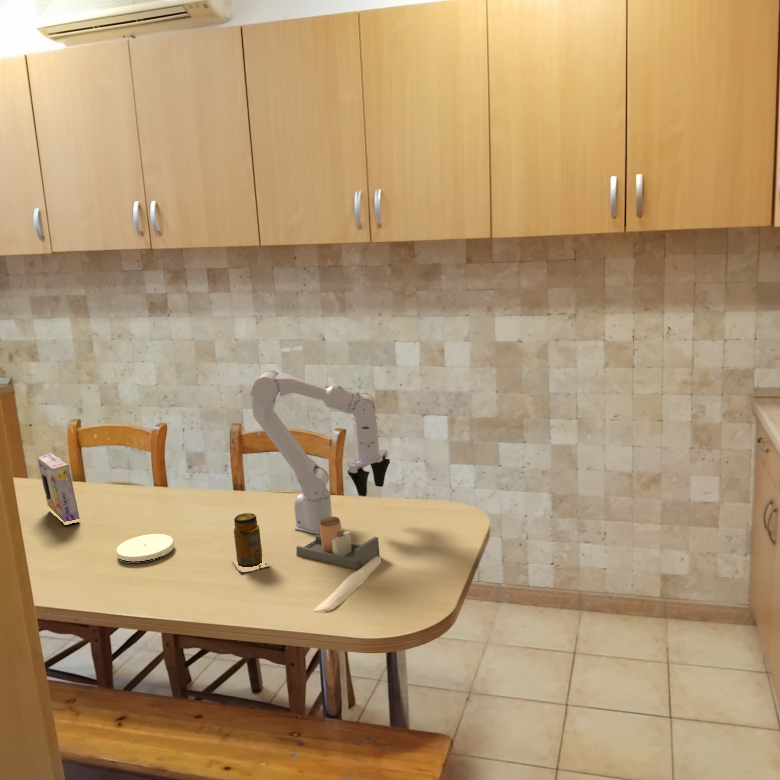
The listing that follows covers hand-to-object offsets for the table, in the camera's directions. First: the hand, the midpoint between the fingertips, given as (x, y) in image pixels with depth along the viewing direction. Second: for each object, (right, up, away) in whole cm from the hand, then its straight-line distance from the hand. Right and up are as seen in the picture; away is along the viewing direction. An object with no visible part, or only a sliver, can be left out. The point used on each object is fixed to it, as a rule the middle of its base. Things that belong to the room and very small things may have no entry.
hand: (371, 490), depth 208 cm
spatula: (-3, -18, -31) cm, 35 cm away
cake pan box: (-91, -11, +24) cm, 94 cm away
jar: (-9, -13, -15) cm, 22 cm away
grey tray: (-8, -14, -16) cm, 22 cm away
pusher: (-6, -14, -17) cm, 23 cm away
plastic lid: (-57, -16, -6) cm, 59 cm away
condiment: (-29, -16, -17) cm, 37 cm away
